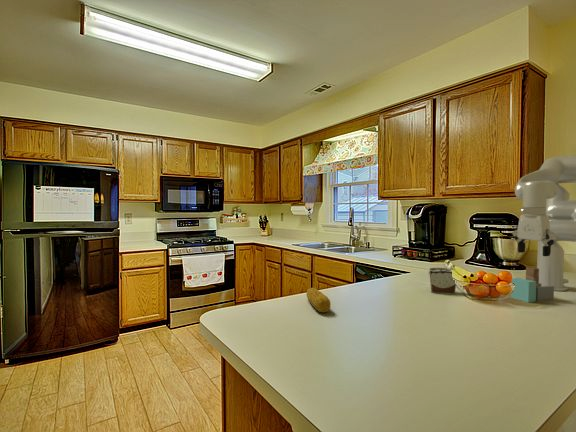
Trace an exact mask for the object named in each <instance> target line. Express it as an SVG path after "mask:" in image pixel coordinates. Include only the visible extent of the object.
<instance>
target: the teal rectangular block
mask: <svg viewBox="0 0 576 432" xmlns="http://www.w3.org/2000/svg"><path fill="white" fill-rule="evenodd" d="M512 283H514V284H515V287H514V291H513V293H512V295H511V294H510V298H511V299H515V300H517V301H522V302H525V303H535V302H536V301H537V300H536V281H531V280H527V279H526V278H521V277H513V278H512Z"/></svg>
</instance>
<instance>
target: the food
mask: <svg viewBox="0 0 576 432" xmlns="http://www.w3.org/2000/svg"><path fill="white" fill-rule="evenodd" d="M306 298H307V300H308V302H309V303H310V304H311V305H312V306H313V307H314V308H315V310H316V311H317V312H320V313H327V312H328V311H330V309H331V301H330V298H328V296H327V295H325V294H324V293H323V292H321V291H319V289H317V288H315V287H309V288H308V289H307V290H306Z"/></svg>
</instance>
